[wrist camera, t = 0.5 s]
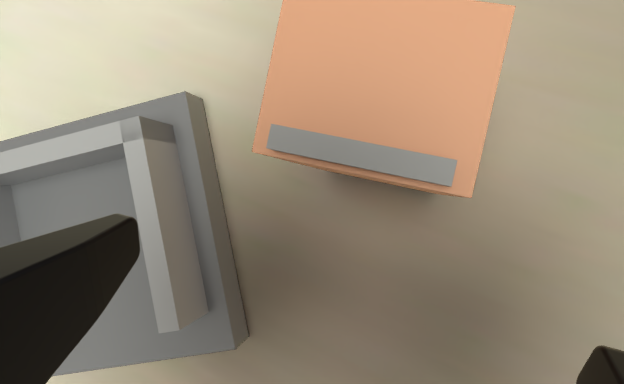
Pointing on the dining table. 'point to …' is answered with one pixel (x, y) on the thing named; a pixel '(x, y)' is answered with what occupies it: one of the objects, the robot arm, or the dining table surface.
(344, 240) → the dining table surface
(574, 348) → the dining table surface
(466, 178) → the peach block
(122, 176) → the dock
